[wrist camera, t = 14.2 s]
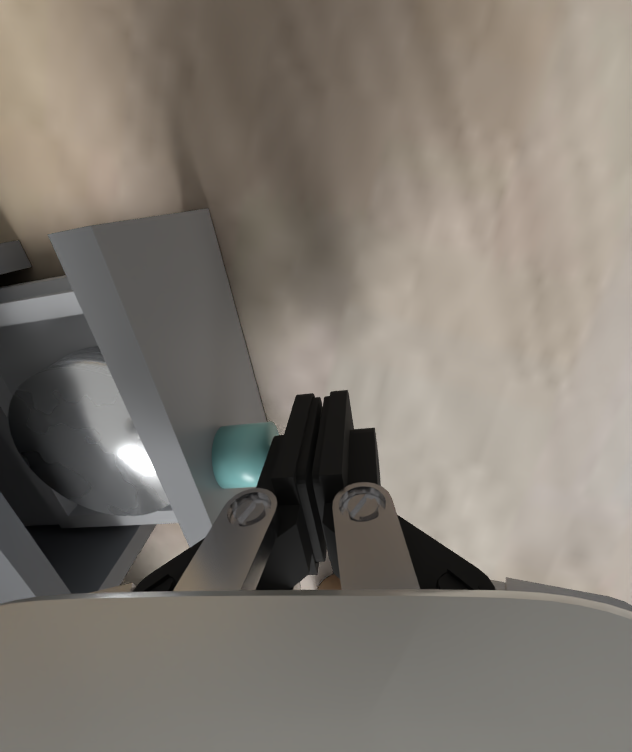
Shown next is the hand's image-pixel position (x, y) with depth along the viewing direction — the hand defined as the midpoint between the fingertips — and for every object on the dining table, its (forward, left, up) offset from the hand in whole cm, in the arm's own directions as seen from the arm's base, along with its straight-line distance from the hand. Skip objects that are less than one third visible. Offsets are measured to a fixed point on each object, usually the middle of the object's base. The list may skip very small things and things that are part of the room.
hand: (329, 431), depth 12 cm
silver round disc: (+9, 0, -3) cm, 9 cm away
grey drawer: (+10, 0, -4) cm, 11 cm away
